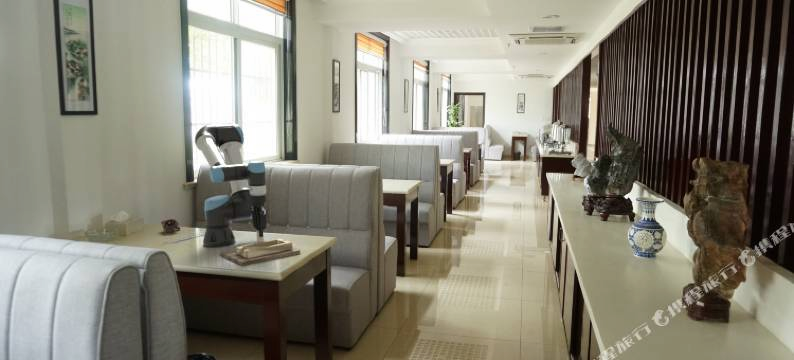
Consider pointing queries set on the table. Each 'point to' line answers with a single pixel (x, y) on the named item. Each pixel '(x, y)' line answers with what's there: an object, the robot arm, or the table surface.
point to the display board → (245, 261)
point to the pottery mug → (170, 225)
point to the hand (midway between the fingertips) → (260, 243)
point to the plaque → (187, 239)
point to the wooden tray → (263, 248)
